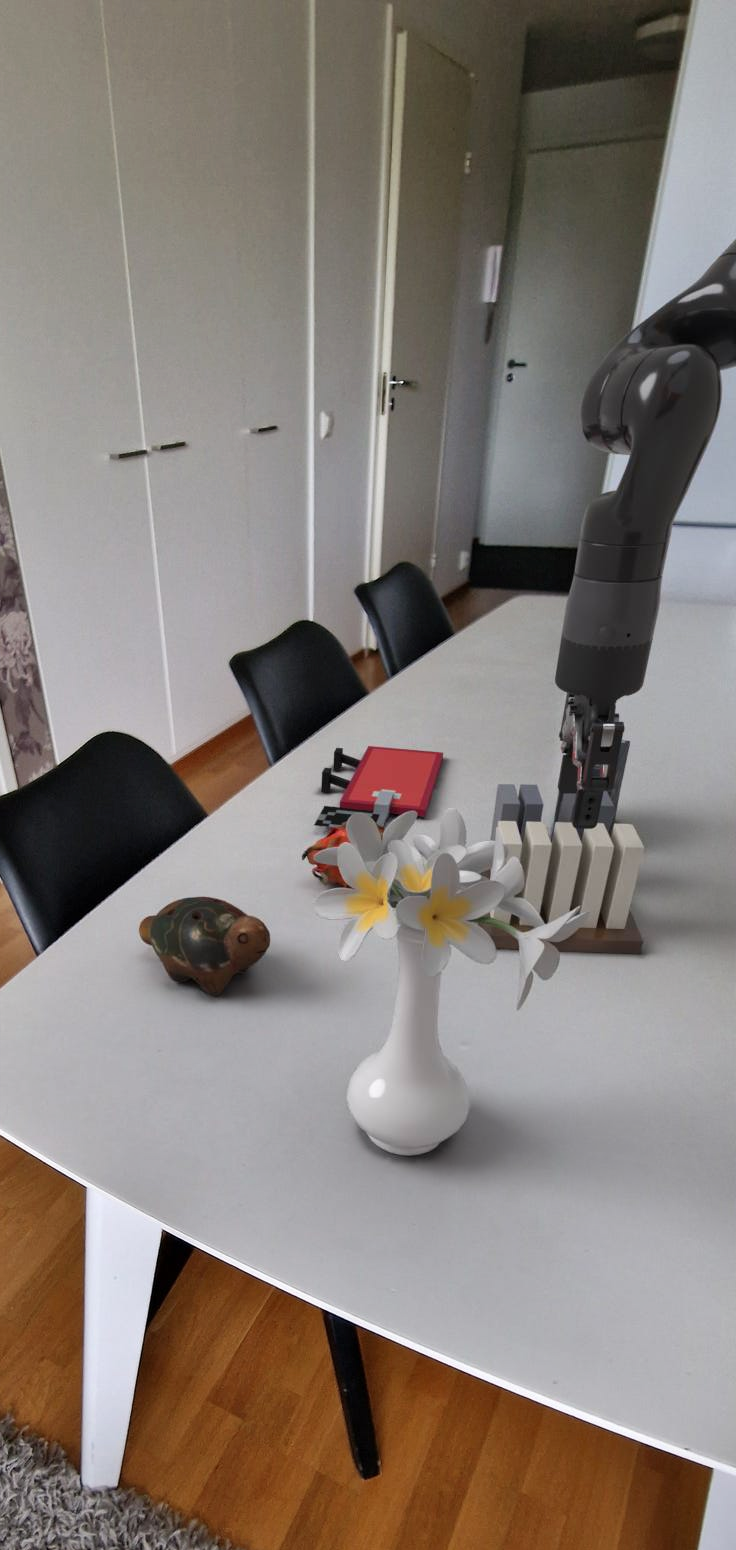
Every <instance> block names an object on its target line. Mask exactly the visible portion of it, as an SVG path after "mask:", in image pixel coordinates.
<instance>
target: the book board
mask: <svg viewBox="0 0 736 1550" xmlns="http://www.w3.org/2000/svg"><path fill="white" fill-rule="evenodd" d="M479 874H480V875H481V876H484V877H486V878H488V879H489V880H490V876H491V872H490V869H489V870H486V871H483V872H481V873H479ZM514 896H515V895H514ZM570 911H572V907H571V906H570ZM570 911H569V912H570ZM483 917H490V918H491V916H490V912H489V913H487V914H486V915H484V916H483ZM540 917H541V918H542V920H543V921H544V923H545V924H548V923H547V920H546V916H545V912H544V909H543V905H542V904H541V909H540ZM573 917H574V916H573ZM473 923H475V922H473ZM475 924H477V925H478V926H480V927H481V928H482V929H483V930H484V931H486V932H487V934H488V935H489V936H490V937H491V939H492V940H493V942H494V945H495V947H496V949H501V950H502V949H503V950H504V949H505V950H519V941H518V939H516V938H515V937H513V936H512V935H511V934H509V933H508V932H506V931H504V930H502V929H500V928H498V927H495V926H493V925H489V924H484V923H475ZM509 925H511V926H512V927H514V928H515V929H517V930H519V931H521V932H528V931H531V930H532V929H535V927H533V926H526V925H520V924H519V920H518V916H515V915H513V914H511V919H510V924H509ZM547 942H549V943H550V944H552V945H553V946H555V947H556V948H557V950H558V952H578V953H605V954H626V955H627V954H628V955H629V954H630V955H641V954H642V950H643V946H644V943H645V942H644V939H643V936H642V935H641V932H640V930H639V926H638V925H637V923H636V920H635V918H634V916H633V913H632V911H631V908H630V909H629V913H628V917H627V921H626V925H625V929H607V928H606V926H605V923H604V920H603V918H602V915H601V912H600V913H599V917H598V922H597V926H596V928H579V929H578V930H577V931H575V932H574V933H573V934H572V935H571V936H569V937H568V938H566V939H565V940H562V941H560V942H550V941H547Z"/></svg>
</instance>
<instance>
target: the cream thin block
mask: <svg viewBox="0 0 736 1550" xmlns="http://www.w3.org/2000/svg"><path fill="white" fill-rule="evenodd" d="M581 851H582V843H581V841H580V838H579V835H578V833H577V830H576V828H574V827H573V825H572V823H571V822H555V827H554V833H553V838H552V848H551V854H550V859H549V865H548V870H547V876H546V882H545V887H544V893H543V898H542V905H543V909H544V912H545V916H546V920H547V923H550V922H552V921H554V920H556V919H558V918H560V917H562V916H563V915H565V914H567V913H568V912H569V911H570V906H571V901H572V896H573V891H574V886H575V881H576V876H577V871H578V866H579V861H580V856H581Z"/></svg>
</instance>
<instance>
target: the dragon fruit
mask: <svg viewBox="0 0 736 1550" xmlns="http://www.w3.org/2000/svg"><path fill="white" fill-rule="evenodd" d="M375 823H376V822H375ZM346 824H347V822H344V823H342V826H338V827H330V831H329V832H328V833H327V835H326V836H324V837H323V838H320V839H318V840H317V841H316V842H315V843H314V844H313V845H310V846H309V847H308V848H306V849H305V850H304V851H303V853H302V855H301V862H303V861H304V860H305V859H307V860H308V864H309V865H313V866H315V865H316V867H313V868H312V869H311V873H312V875H313V876H314V877H315V878H316V879H318V880H319V882H321V883H322V884H323V885H324V886H325V885H326V884H332V883H334V884H336V885H337V886H340V887H343V888H349V889H353V888H352V887H350V886H349V885H348V884H347V883H346V882H345V881H344V879H343V878H342V875H341V873H340V870H339V867H338V866H335V865H328V864H322V863H318V862H316V861H315V860H314V855H315V854H317V853H318V852H320V851H322V850H324V849H328V848H332V847H340V845H341V844H342V843H344V842H348V843H350V841H349V839H348V836H347V832H346ZM376 826H377V827H378V830H379V833H380V837H381V840H382V839H383V833H384V831H385V829H386V828H385V827H384V826H383V827H382V826H380V825H379V824H377V823H376ZM350 844H351V843H350ZM397 872H398V871H397ZM317 873H318V874H317ZM319 874H320V875H319ZM398 874H399V873H398Z"/></svg>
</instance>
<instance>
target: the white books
mask: <svg viewBox="0 0 736 1550" xmlns="http://www.w3.org/2000/svg"><path fill="white" fill-rule="evenodd" d="M498 830H499V832H500V835H501V838H502V842H503V843H504V844H505V845H506V846H507V848H508V850H509V854H508V857H507V858H506V859H505V860H504V861H506V863H507V862H508V861H509V859H510V858H511V857H514V856H515V857H516V858H518V860H519V861H520V864H521V865H522V868H523V872H524V876H525V884H524V887H523V889H522V890H521V891H520V892H519V893H518V894H516V895H515V896H512V897H510V898H523V899H525V900H526V901H528V902H529V903H530V904H531V905H532V906H533V907H534V908H535V910H536V911H537V912H538V914H539V915H540V909H541V904H542V898H543V893H544V887H545V882H546V876H547V870H548V865H549V859H550V854H551V848H552V844H551V841H550V840H551V837H550V835H549V832H548V829H547V826H546V822H545V821H541V822H526V828H525V834H524V840H523V846H522V841H521V838H520V834H519V830H518V827H517V823H516V821H498ZM611 831H612V832H611V835H610V833H609V834H608V832H607V830H606V828H605V825H604V823H597V826H596V827H595V828H593V829H584V833H583V838H582V851H581V856H580V861H579V866H578V871H577V876H576V881H575V886H574V891H573V896H572V901H571V907H572V910H573V909H575V908H577V907H578V906H580V909H579V910H578V912H577V913H576V914H575V915H574V916H576V915H579V914H582V913H584V912H587V911H590V914H589V917H588V918H587V920H586V921H585V922H584V923H583V924H582V926H581V927H579V928H596V926H597V922H598V917H599V913H600V912H601V915H602V918H603V920H604V923H605V926H606V928H607V929H625V925H626V921H627V917H628V913H629V909H630V910H631V905H632V900H633V896H634V892H635V888H636V884H637V879H638V876H639V872H640V868H641V864H642V860H643V855H644V851H645V846H644V844H643V842H642V840H641V838H640V836H639V834H638V832H637V830H636V828H635V827H634V824H633V823H613V826H612V830H611ZM521 850H522V853H521ZM520 856H521V859H520ZM491 872H492V869H491ZM490 877H491V876H490ZM490 916H491V918H494V919H497V920H499V921H502V922H505V923H507V924H510V919H511V913H509V912H507V911H504V910H502V909H501V908H499V907H497V906H496V907H495V908H494V909H493V910H492V911H490ZM518 920H519V924H520V925H526V926H532V925H530V924H529V923H527V922H526V921H524V920H523V919H521V918H520V917H518Z"/></svg>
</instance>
